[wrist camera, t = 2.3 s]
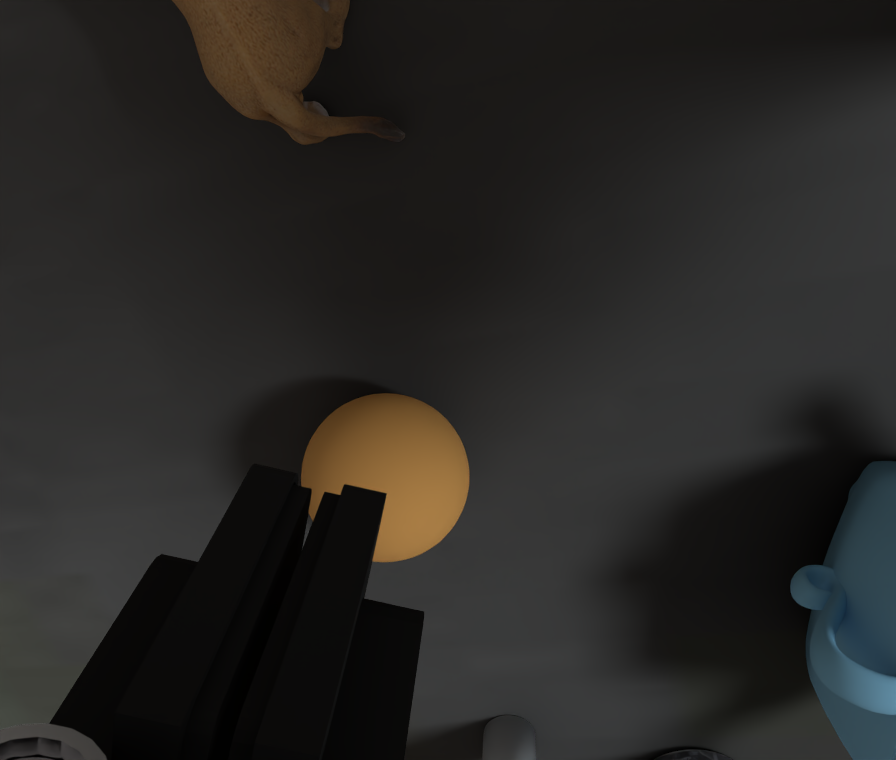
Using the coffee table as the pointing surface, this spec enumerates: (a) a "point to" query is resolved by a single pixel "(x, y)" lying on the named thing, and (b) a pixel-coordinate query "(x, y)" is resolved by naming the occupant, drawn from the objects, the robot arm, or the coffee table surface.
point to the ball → (392, 468)
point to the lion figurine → (275, 61)
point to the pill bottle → (693, 755)
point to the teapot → (857, 618)
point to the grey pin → (509, 739)
